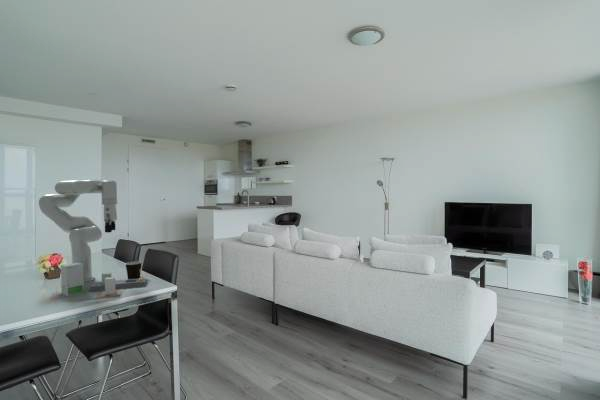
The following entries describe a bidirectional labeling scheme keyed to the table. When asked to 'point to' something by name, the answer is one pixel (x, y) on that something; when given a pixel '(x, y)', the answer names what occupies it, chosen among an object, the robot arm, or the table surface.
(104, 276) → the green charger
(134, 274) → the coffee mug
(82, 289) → the skincare box
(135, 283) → the power strip
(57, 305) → the table surface
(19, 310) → the table surface
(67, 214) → the robot arm
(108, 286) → the white charger
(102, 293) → the walnut board
